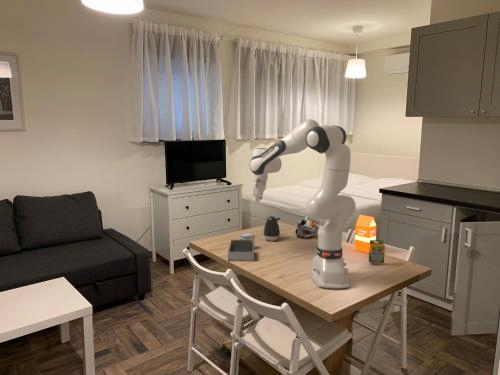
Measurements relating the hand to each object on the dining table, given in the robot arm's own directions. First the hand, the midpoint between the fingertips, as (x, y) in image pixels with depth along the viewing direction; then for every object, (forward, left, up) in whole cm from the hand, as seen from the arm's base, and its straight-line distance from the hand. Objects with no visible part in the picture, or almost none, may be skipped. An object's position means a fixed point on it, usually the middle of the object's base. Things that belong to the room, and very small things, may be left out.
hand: (259, 201), depth 214 cm
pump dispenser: (+19, -8, -29) cm, 36 cm away
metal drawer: (-13, +10, -28) cm, 33 cm away
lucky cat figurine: (+28, -31, -29) cm, 51 cm away
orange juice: (+1, -61, -29) cm, 68 cm away
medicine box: (0, +7, -29) cm, 29 cm away
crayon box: (-20, -61, -29) cm, 70 cm away
